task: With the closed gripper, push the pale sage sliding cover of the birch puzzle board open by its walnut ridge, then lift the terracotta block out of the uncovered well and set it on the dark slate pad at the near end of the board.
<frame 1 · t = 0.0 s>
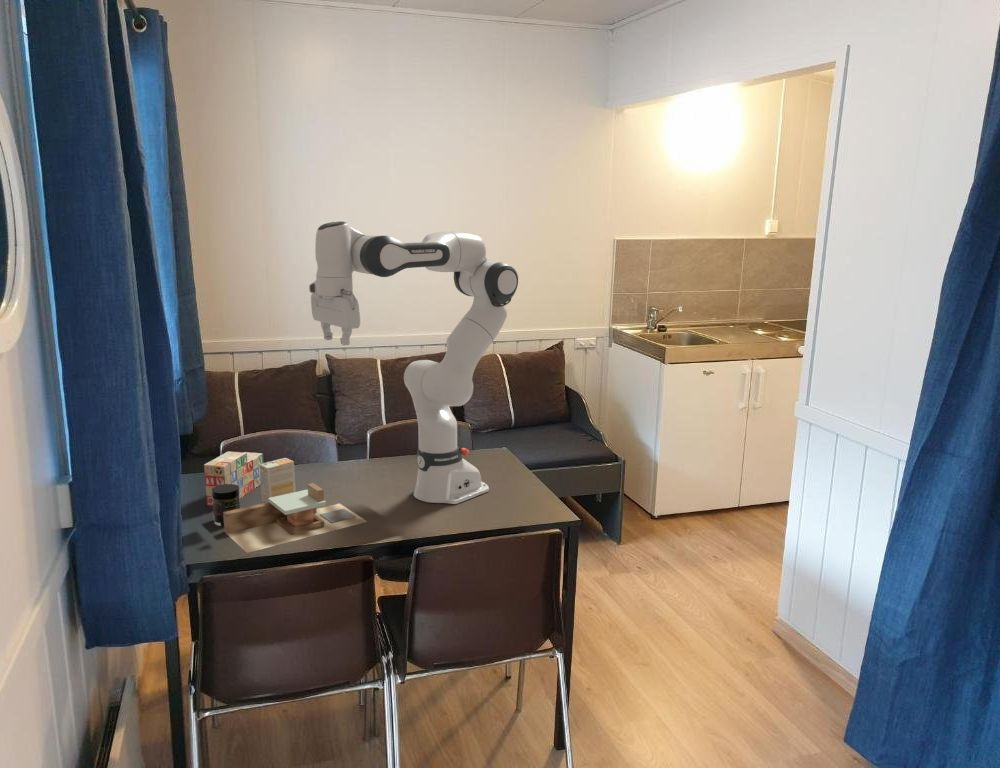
hand: (336, 342, 199), 48 cm above the table, tool pointing down, fingers open, 8 cm apart
board: (297, 531, 201), on the table
supplement box: (279, 507, 217), on the table
stack of blocks: (237, 494, 227), on the table
block: (300, 525, 201), point 1 cm above the table, touching board
cover: (296, 496, 200), point 9 cm above the table, slide at 0.0 cm
supplement container: (227, 526, 203), on the table
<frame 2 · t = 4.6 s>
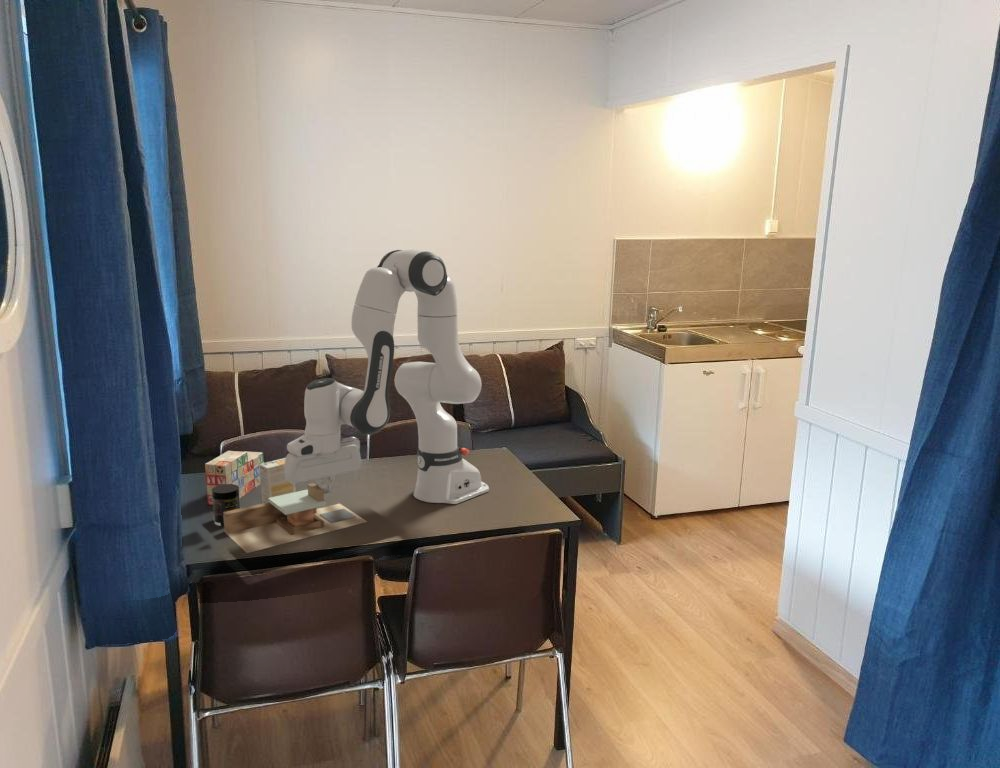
hand: (324, 492, 203), 9 cm above the table, tool pointing down, fingers closed
cover: (296, 496, 200), point 9 cm above the table, slide at 0.0 cm, touching gripper
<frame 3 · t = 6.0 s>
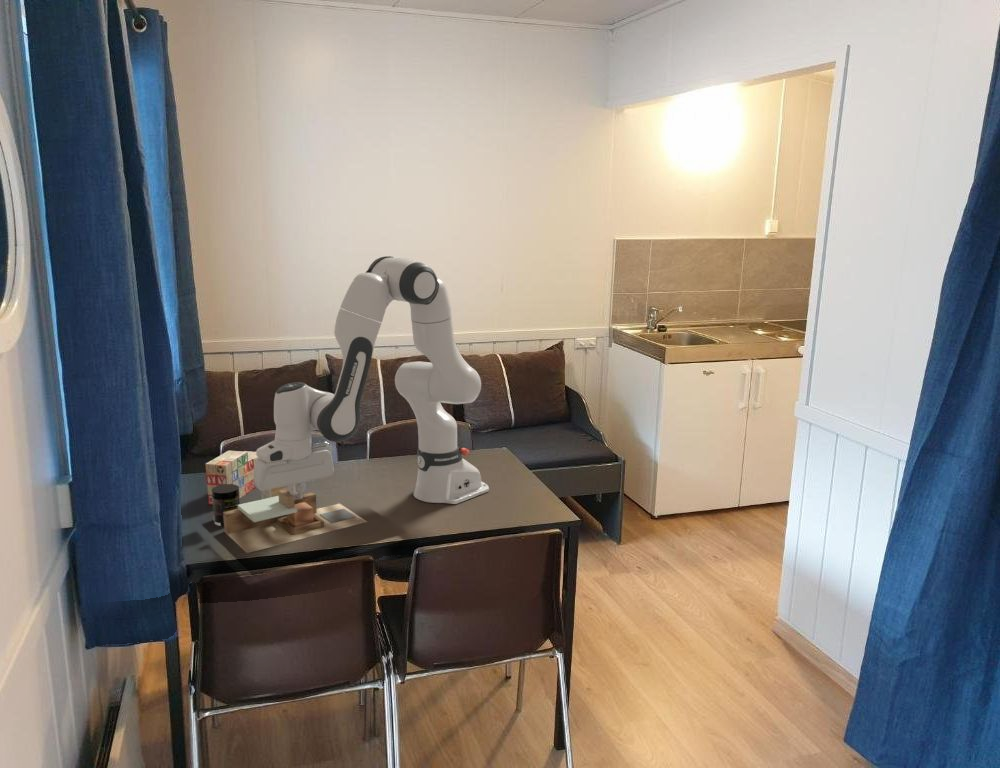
hand: (295, 499, 199), 9 cm above the table, tool pointing down, fingers closed
cover: (266, 502, 196), point 9 cm above the table, slide at 8.0 cm, touching gripper
everything else where it was.
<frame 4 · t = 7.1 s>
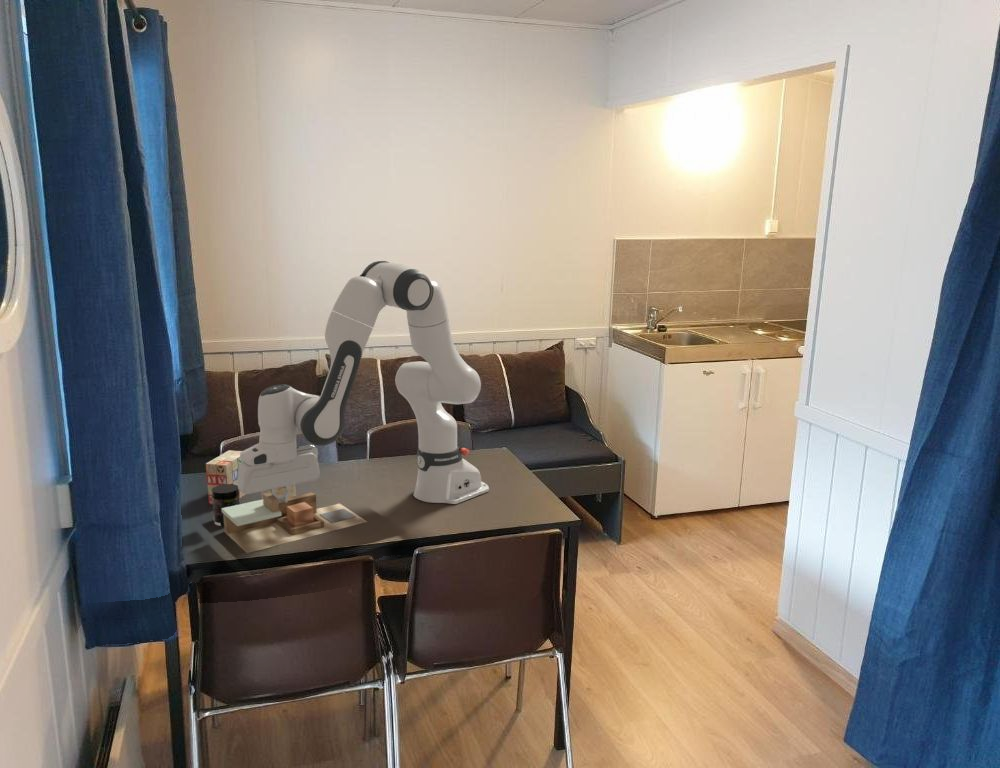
hand: (280, 503, 196), 9 cm above the table, tool pointing down, fingers closed
cover: (251, 506, 193), point 9 cm above the table, slide at 12.0 cm, touching gripper
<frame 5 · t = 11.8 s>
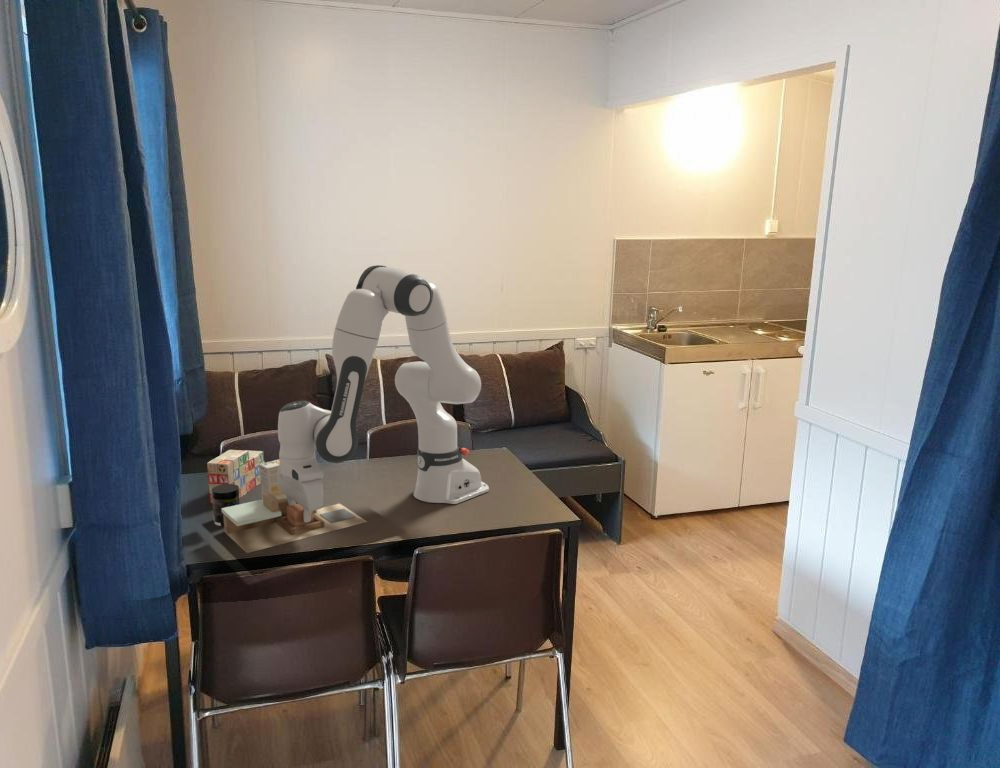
hand: (300, 516, 200), 4 cm above the table, tool pointing down, fingers open, 7 cm apart
cover: (250, 506, 193), point 9 cm above the table, slide at 12.0 cm
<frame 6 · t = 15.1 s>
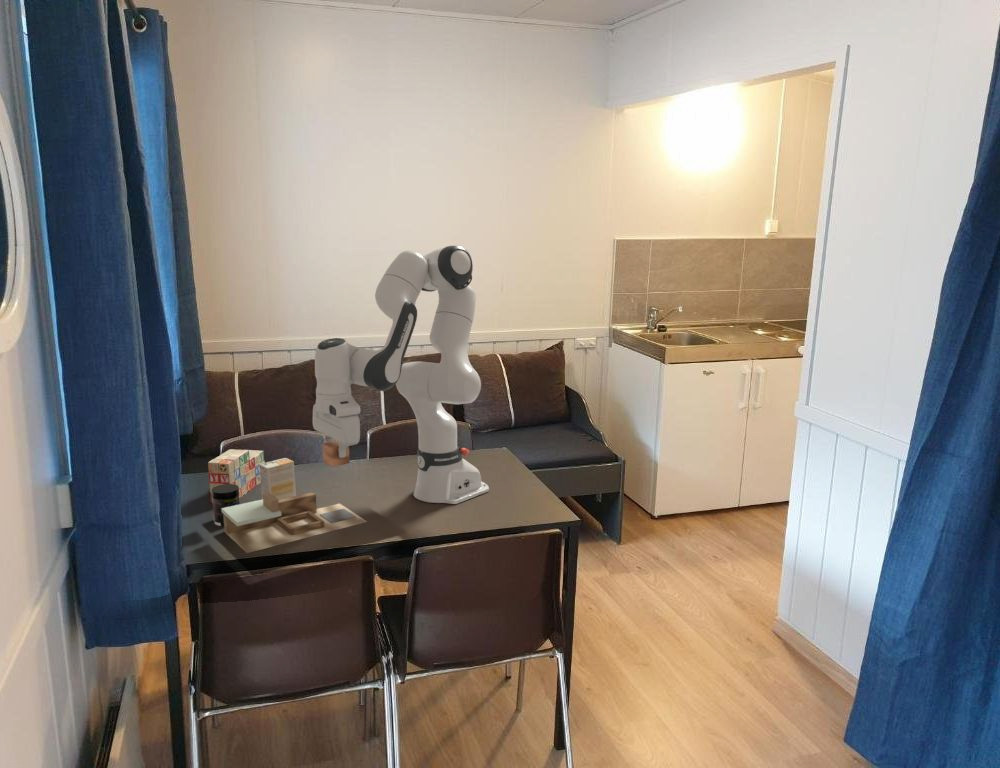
hand: (336, 453, 203), 19 cm above the table, tool pointing down, fingers closed on block, 5 cm apart
block: (336, 462, 204), point 16 cm above the table, touching gripper
when the fingers open (6 cm above the table, at t = 18.0 s): block drops 1 cm, resting on board.
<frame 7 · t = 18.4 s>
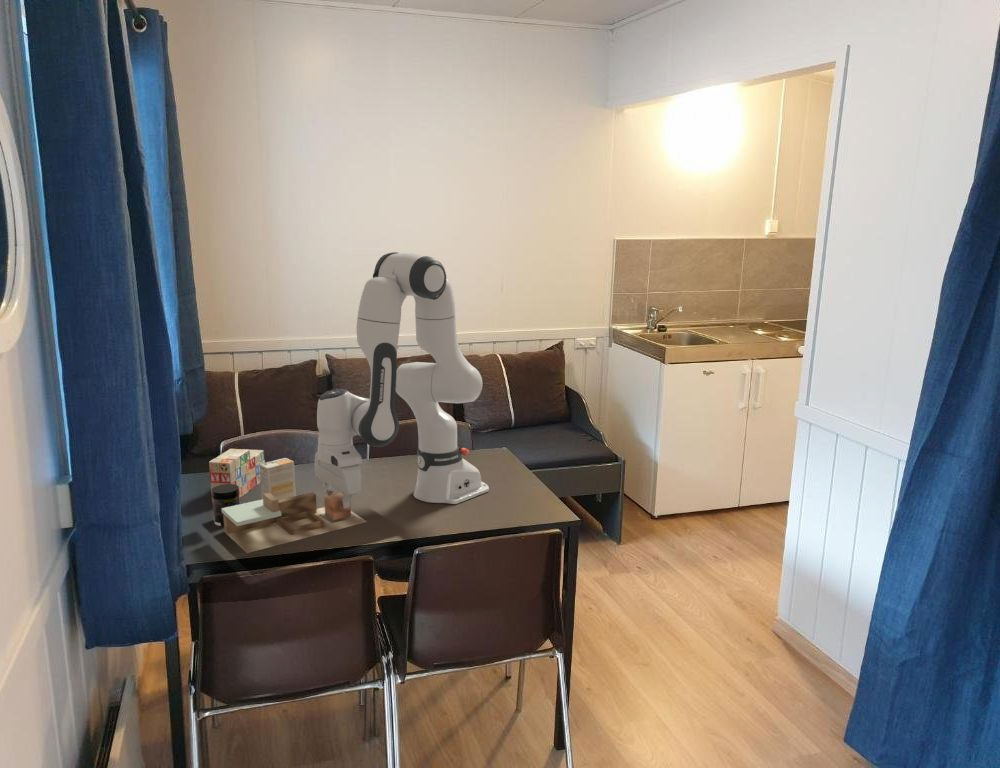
hand: (337, 501, 206), 6 cm above the table, tool pointing down, fingers open, 8 cm apart
block: (338, 515, 207), point 2 cm above the table, touching board
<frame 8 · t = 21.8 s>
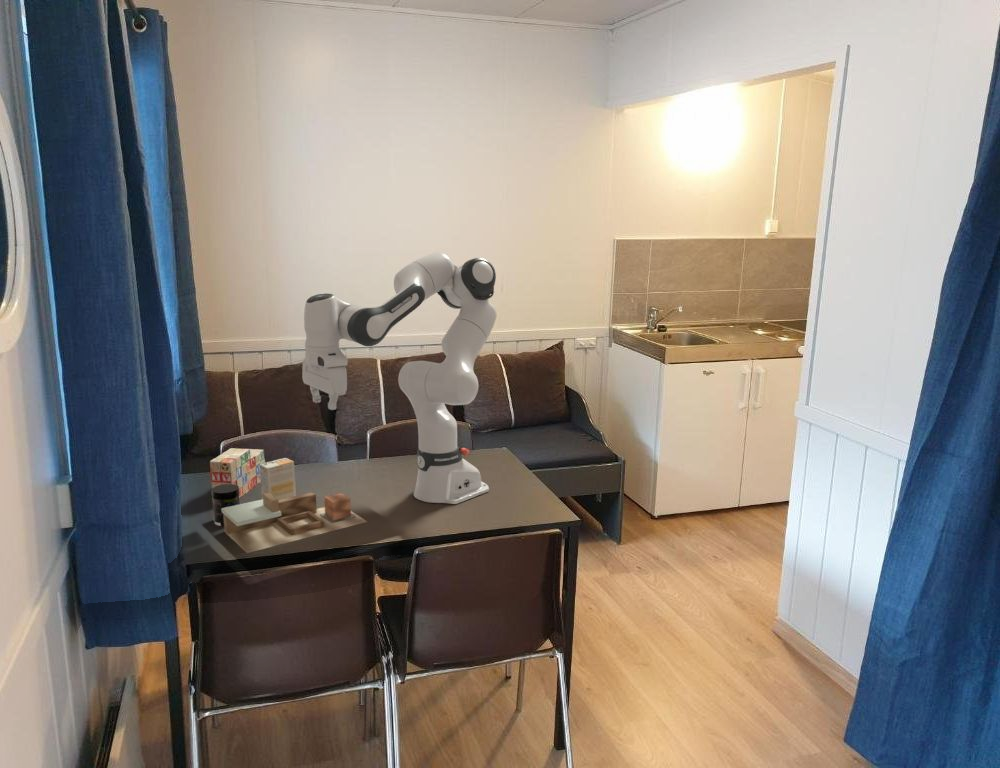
hand: (324, 405, 211), 29 cm above the table, tool pointing down, fingers open, 8 cm apart
at the end: cover slide at 12.0 cm; block inside the target area on the board (0.1 cm from its centre), point 1.7 cm above the board's base; block tilted 0° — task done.
